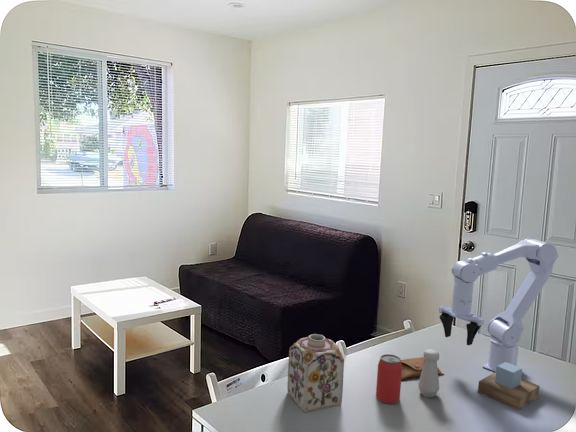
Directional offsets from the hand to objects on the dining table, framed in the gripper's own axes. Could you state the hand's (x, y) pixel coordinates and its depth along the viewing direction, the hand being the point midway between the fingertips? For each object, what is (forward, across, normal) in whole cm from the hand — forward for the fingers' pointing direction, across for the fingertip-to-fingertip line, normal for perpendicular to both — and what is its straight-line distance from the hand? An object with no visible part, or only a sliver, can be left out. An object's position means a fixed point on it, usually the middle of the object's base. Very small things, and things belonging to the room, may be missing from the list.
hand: (458, 340), depth 154 cm
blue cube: (+6, +18, -2) cm, 19 cm away
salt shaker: (+10, +4, -21) cm, 24 cm away
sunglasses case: (+11, -7, -13) cm, 18 cm away
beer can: (+10, -1, -33) cm, 35 cm away
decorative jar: (+10, -13, -50) cm, 53 cm away
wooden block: (+10, +18, -2) cm, 21 cm away
